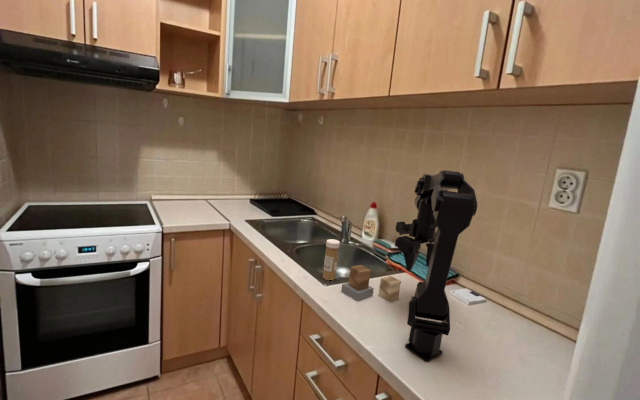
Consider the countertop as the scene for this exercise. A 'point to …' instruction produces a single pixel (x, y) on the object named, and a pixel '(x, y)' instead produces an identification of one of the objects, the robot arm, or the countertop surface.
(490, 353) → the countertop surface
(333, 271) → the sprinkles bottle
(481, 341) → the countertop surface
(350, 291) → the tile block
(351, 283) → the walnut block
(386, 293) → the maple block
